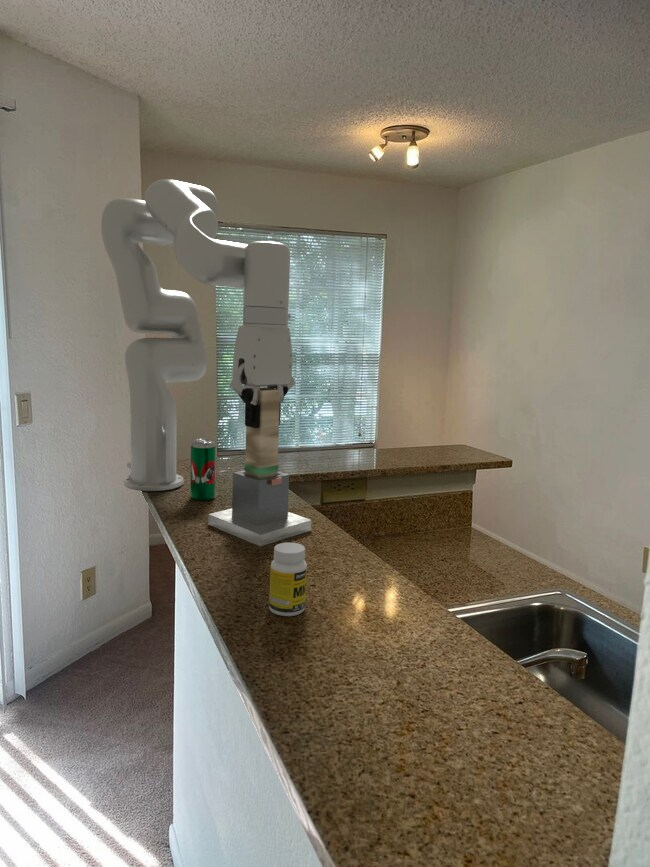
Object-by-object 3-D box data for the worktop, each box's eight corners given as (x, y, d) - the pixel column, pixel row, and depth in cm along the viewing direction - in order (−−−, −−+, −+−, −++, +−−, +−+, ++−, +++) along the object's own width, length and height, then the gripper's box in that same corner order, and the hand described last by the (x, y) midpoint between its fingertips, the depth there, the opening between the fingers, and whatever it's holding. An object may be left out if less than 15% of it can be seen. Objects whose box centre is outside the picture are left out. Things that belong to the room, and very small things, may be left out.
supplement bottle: (296, 620, 78) (299, 557, 77) (262, 612, 80) (264, 550, 78) (310, 604, 83) (313, 544, 81) (278, 597, 84) (280, 538, 83)
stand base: (208, 524, 112) (209, 470, 110) (259, 511, 121) (260, 461, 119) (260, 546, 103) (261, 487, 101) (310, 530, 111) (313, 476, 109)
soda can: (218, 495, 130) (219, 439, 128) (211, 502, 125) (212, 444, 123) (194, 493, 130) (195, 437, 128) (186, 500, 125) (187, 442, 123)
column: (244, 478, 110) (246, 388, 107) (262, 475, 113) (264, 387, 110) (259, 483, 107) (262, 391, 104) (277, 479, 110) (280, 389, 107)
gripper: (286, 319, 113) (282, 418, 117) (211, 316, 101) (210, 427, 105) (316, 320, 108) (311, 424, 112) (241, 317, 96) (238, 434, 100)
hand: (262, 424), depth 108 cm, fingers closed on column, 4 cm apart
